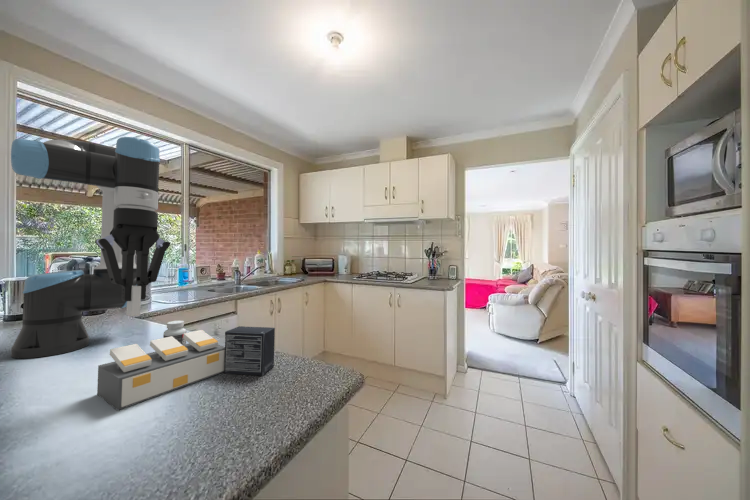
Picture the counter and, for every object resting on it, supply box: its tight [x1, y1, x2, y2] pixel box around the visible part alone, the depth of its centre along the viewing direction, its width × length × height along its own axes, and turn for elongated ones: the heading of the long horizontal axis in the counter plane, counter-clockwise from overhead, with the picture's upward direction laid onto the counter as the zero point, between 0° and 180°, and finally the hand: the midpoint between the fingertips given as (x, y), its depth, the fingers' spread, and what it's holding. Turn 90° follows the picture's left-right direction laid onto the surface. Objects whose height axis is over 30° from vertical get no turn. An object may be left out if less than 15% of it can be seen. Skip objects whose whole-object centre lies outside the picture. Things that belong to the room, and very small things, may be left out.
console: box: [96, 343, 225, 411], centre depth 64 cm, size 11×21×7 cm, turn 149°
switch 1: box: [109, 343, 152, 372], centre depth 58 cm, size 8×4×1 cm, turn 59°
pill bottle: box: [162, 320, 187, 345], centre depth 80 cm, size 5×5×10 cm
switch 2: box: [149, 336, 188, 361], centre depth 64 cm, size 8×4×1 cm, turn 59°
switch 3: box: [183, 329, 219, 352], centre depth 70 cm, size 8×4×1 cm, turn 59°
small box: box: [223, 325, 276, 377], centre depth 72 cm, size 11×6×10 cm, turn 84°
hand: (133, 315), depth 62 cm, fingers closed
